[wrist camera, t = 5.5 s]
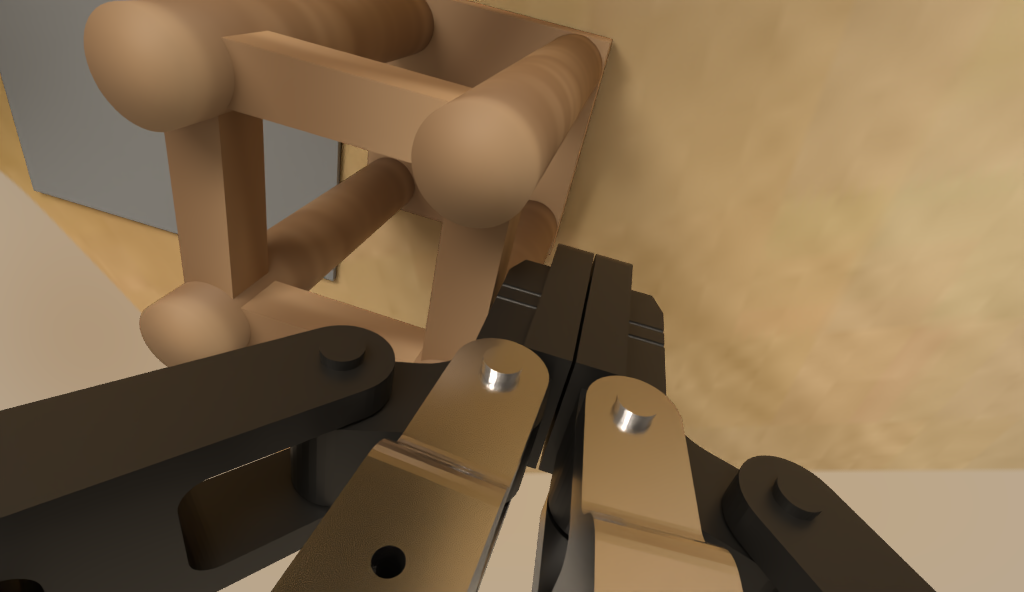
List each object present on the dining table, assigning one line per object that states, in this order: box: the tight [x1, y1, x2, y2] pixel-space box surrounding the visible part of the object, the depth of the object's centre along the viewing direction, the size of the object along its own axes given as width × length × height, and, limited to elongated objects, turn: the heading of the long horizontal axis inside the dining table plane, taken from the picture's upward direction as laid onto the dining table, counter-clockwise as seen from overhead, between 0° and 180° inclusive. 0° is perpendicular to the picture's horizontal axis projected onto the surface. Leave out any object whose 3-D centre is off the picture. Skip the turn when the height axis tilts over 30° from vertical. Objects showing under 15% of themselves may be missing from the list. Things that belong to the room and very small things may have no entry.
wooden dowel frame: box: [84, 0, 613, 367], centre depth 14 cm, size 7×7×11 cm
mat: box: [0, 0, 341, 281], centre depth 19 cm, size 14×16×1 cm
